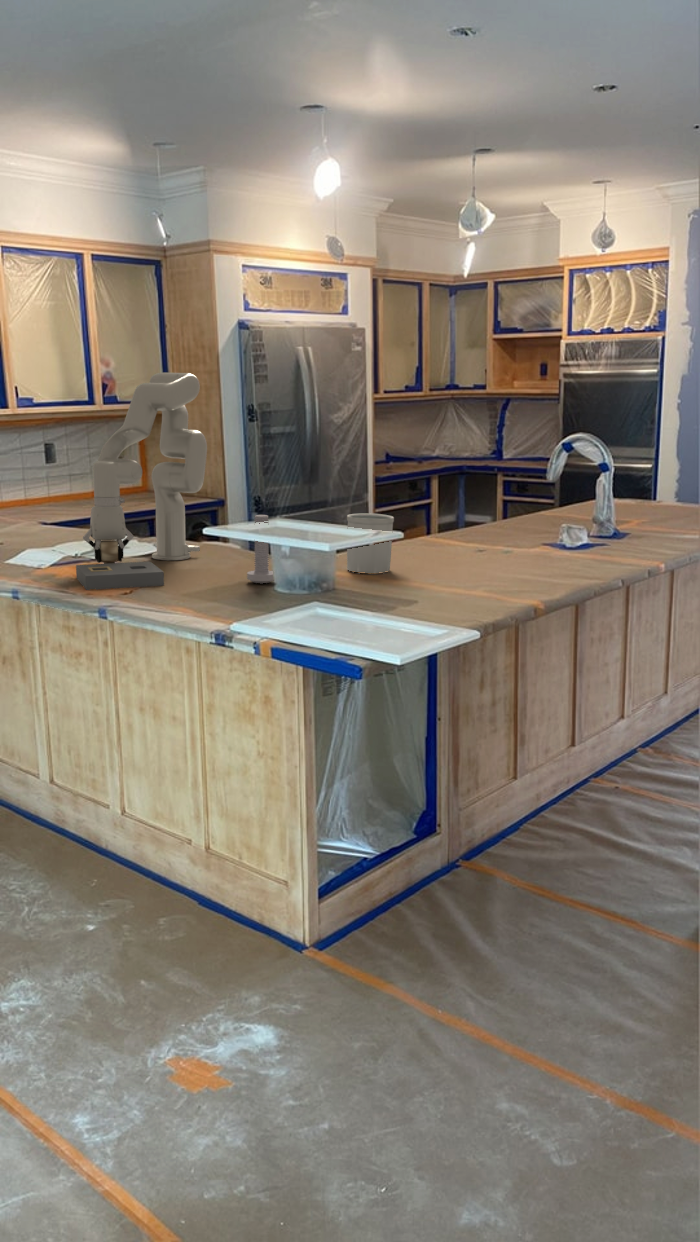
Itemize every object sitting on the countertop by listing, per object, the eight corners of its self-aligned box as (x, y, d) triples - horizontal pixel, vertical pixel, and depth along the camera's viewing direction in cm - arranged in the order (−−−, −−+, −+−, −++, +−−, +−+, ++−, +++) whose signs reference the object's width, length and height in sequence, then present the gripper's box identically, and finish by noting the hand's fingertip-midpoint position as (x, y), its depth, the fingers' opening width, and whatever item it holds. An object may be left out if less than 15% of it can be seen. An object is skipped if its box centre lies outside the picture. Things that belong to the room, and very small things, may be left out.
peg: (117, 570, 312) (116, 539, 310) (120, 573, 307) (119, 542, 305) (98, 571, 310) (97, 540, 308) (101, 574, 305) (100, 543, 303)
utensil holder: (375, 565, 330) (376, 511, 326) (401, 572, 318) (403, 517, 314) (337, 568, 322) (338, 514, 318) (362, 576, 310) (363, 520, 306)
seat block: (150, 574, 307) (149, 560, 306) (163, 585, 291) (163, 571, 290) (76, 578, 298) (75, 564, 297) (86, 590, 282) (85, 575, 281)
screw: (281, 583, 297) (282, 516, 292) (258, 586, 291) (258, 518, 287) (264, 579, 303) (264, 513, 298) (241, 582, 297) (241, 514, 293)
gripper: (133, 500, 310) (134, 558, 314) (76, 501, 304) (78, 560, 308) (138, 503, 304) (139, 562, 308) (80, 504, 297) (82, 565, 301)
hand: (109, 560), depth 308 cm, fingers closed on peg, 5 cm apart
